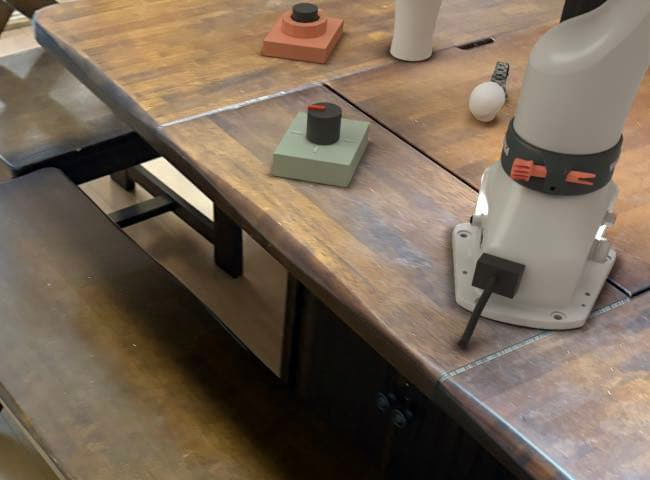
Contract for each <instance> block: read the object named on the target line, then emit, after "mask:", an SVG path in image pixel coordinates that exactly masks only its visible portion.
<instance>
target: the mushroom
mask: <svg viewBox="0 0 650 480" xmlns="http://www.w3.org/2000/svg"><path fill="white" fill-rule="evenodd" d="M505 103H506V98H505V93H504V90H503V88H502V87H501V86H500V85H498V84H497V83H495V82H491V81H483V82H482V83H481V82H480V83H479V84H478V85H477V86H475V88H474V89H472V91H471V93H470V95H469V100H468V107H469V111H470V114H472V115H473V116H474V118H475V120H477V121H479V122H481V123H488V122H491V121H493V120H494V119H495V118H496V115H497V113H498V112H499V111H500V110H501V109H502V107H504V105H505Z"/></svg>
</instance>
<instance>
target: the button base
mask: <svg viewBox="0 0 650 480" xmlns="http://www.w3.org/2000/svg"><path fill="white" fill-rule="evenodd" d="M344 22H345V19H344V18H338V17H329V16H327V14H325V12H322V11H321V10H318V20H317V21H315V22H313V23H299V22H296V21H293V20H292V9H291V10H288V11H283V13H282V15H280V17H279V19H278V20H277V21H276V23H275V24H274V25H273V27H272V28H271V29H270V31H269V32H268V34H266V36H265V38H264V39H263V40H262V56H265V57H271V58H272V57H273V58H279V59H287V60H294V61H302V62H310V63H317V64H325V63H326V62H327V61H328V58H329V57H330V55H331V54H332V52H333V51H334V49H335V47H336V46H337V44H338V42H339V40H340V39H341V38H342V35H343V33H344Z"/></svg>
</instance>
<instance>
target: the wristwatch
mask: <svg viewBox="0 0 650 480" xmlns="http://www.w3.org/2000/svg"><path fill="white" fill-rule="evenodd" d="M510 68H511V66H510V62H505V61H500V60H498V61H497V62H496V64H495V67H494V69H493V73H492V75H491V78H490V81H489V82H495V83H497V84H498V85H500V86H501V87H502V88H503V90H504V93H505V99H507V98H508V93H507V79H508V77H509V75H510V73H509V71H510Z"/></svg>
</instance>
